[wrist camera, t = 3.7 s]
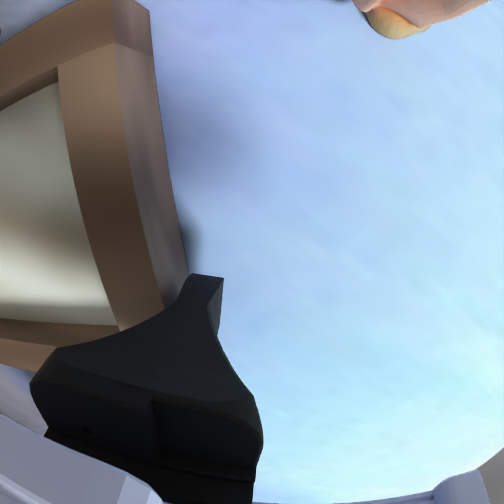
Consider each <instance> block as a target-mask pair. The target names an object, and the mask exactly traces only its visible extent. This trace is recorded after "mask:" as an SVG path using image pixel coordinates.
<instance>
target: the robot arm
mask: <svg viewBox="0 0 504 504" xmlns="http://www.w3.org/2000/svg"><path fill="white" fill-rule="evenodd" d="M223 282H224V278H220V277H214V276H207V275H201V274H195V273H192V274H191V275H190V276H188V278H187V279H186V280H185V282H184V284H183V286H182V289H181V291H180V293H179V296H178V298H177V300H176V301H175V302H174V303H173V304H171V305H170V306H168V307H167V308H165V309H164V310H163V311H161V312H160V313H158V314H156V315H155V316H153V317H151V318H149V319H147V320H145V321H143V322H142V323H139V324H137V325H135V326H133V327H130V328H128V329H125V330H123V331H121V332H118V333H116V334H113V335H110V336H107V337H104V338H100V339H97V340H93V341H89V342H85V343H80V344H75V345H70V346H64V347H58V348H55V350H54V351H53V352H52V353H51V354H50V355H49V357H48V358H47V359H46V361H45V362H44V363H43V365H42V366H41V367H40V369H39V370H38V372H37V373H36V374H35V376H34V377H33V379H32V380H31V382H30V392H31V395H32V398H33V400H34V403H35V404H36V406H37V408H38V410H39V412H40V413H41V415H42V417H43V419H44V420H45V422H46V424H47V425H48V427H49V428H48V429H47V431H46V433H45V435H44V436H41V435H39V434H37V433H35V432H33V431H31V430H30V429H28V428H26V427H24V426H22V425H20V424H18V423H17V422H15V421H13V420H11V419H10V418H8V417H6V416H4V415H1V414H0V504H278V503H262V502H252V498H253V486H254V482H255V478H256V466H257V463H258V461H259V458H260V455H261V452H262V449H263V430H262V425H261V420H260V416H259V413H258V409H257V406H256V403H255V399H254V396H253V395H252V393H251V392H250V391H249V390H248V389H247V387H246V386H245V385H244V383H243V382H242V381H241V379H240V378H239V377H238V375H237V374H236V372H235V371H234V369H233V368H232V366H231V364H230V362H229V360H228V358H227V357H226V355H225V353H224V351H223V349H222V347H221V344H220V342H219V340H218V337H217V334H218V329H219V324H220V314H221V303H222V292H223ZM336 504H490V501H489V498H488V495H487V493H486V489H485V486H484V483H483V480H482V477H481V474H480V471H479V470H473V471H470V472H466V473H463V474H459V475H455V476H452V477H449V478H447V479H445V480H444V481H442V482H441V483H439V484H438V485H437V486H436V487H435V488H434V489H433V490H432V491H427V492H423V493H418V494H412V495H407V496H401V497H395V498H388V499H381V500H373V501H363V502H352V503H336Z"/></svg>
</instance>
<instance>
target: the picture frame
mask: <svg viewBox="0 0 504 504" xmlns="http://www.w3.org/2000/svg"><path fill="white" fill-rule="evenodd" d="M188 276H190V275H189V270H188V266H187V261H186V257H185V252H184V247H183V242H182V238H181V233H180V228H179V223H178V218H177V212H176V207H175V202H174V196H173V191H172V185H171V180H170V174H169V168H168V162H167V156H166V149H165V143H164V137H163V130H162V123H161V116H160V109H159V101H158V93H157V85H156V77H155V68H154V59H153V49H152V38H151V27H150V14H149V10H147V9H146V8H145V7H143V6H142V5H140V4H139V3H137V2H136V1H135V0H77V1H75V2H73V3H71V4H69V5H67V6H65V7H63V8H61V9H59V10H57V11H55V12H53V13H52V14H50V15H48V16H46V17H45V18H43V19H41V20H39V21H38V22H36V23H34V24H33V25H31V26H29V27H28V28H26V29H25V30H23V31H21V32H20V33H18V34H17V35H15V36H14V37H12V38H11V39H9V40H8V41H7V42H5V43H4V44H2V45H1V46H0V363H1V364H5V365H8V366H12V367H16V368H20V369H24V370H29V371H33V372H38V370H39V369H40V367H41V366H42V365H43V363H44V362H45V361H46V359H47V358H48V357H49V355H50V354H51V353H52V352H53V351H54V350H55V348H58V347H64V346H70V345H75V344H80V343H85V342H89V341H93V340H97V339H100V338H104V337H107V336H110V335H113V334H116V333H118V332H121V331H123V330H125V329H128V328H130V327H133V326H135V325H137V324H139V323H142V322H143V321H145V320H147V319H149V318H151V317H153V316H155V315H156V314H158V313H160V312H161V311H163V310H164V309H165V308H167V307H168V306H170V305H171V304H173V303H174V302H175V301H176V300H177V298H178V296H179V293H180V291H181V289H182V286H183V284H184V282H185V280H186V279H187V278H188Z"/></svg>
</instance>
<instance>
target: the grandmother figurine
mask: <svg viewBox="0 0 504 504" xmlns="http://www.w3.org/2000/svg"><path fill="white" fill-rule="evenodd" d="M352 1H353V3H354V4H355V5H356V7H357V8H358V9H359V10H361V11H362V12H365V13H366V16H367V18H368V20H369V22H370V24H371V26H372V27H373V28H374V30H376V31H377V32H378V33H379V34H381V35H382V36H384V37H386V38H390V39H401V38H404V37H407V36H410V35H413V34H416V33H419V32H422V31H425V30H427V29H428V28H429V27H430V26H431V25H432V24H435V23H439V22H442V21H446V20H450V19H453V18H456V17H458V16H461V15H463V14H464V13H466V12H468V11H470V10H473V9H475V8H477V7H479V6H481V5H483V4H485V3H487V2H488V1H490V0H352Z"/></svg>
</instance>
